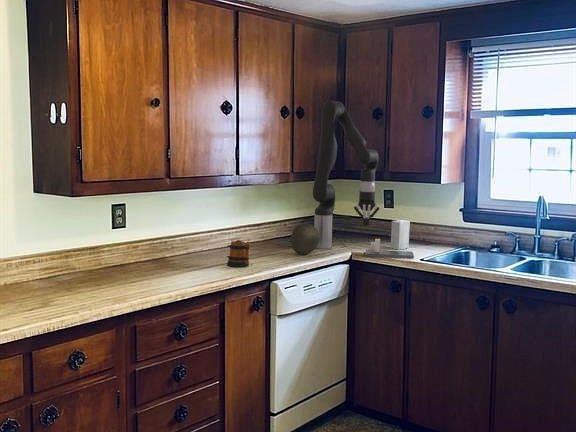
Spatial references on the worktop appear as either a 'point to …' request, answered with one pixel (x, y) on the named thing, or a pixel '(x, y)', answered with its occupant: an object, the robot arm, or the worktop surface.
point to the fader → (377, 245)
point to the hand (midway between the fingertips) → (366, 225)
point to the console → (388, 253)
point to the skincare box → (400, 234)
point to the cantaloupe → (304, 239)
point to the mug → (238, 254)
